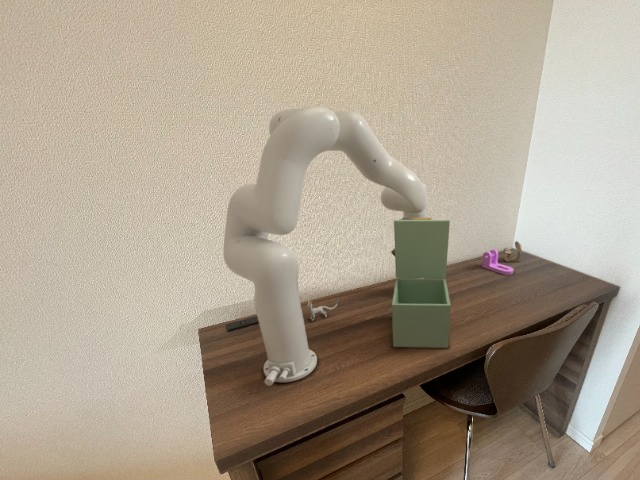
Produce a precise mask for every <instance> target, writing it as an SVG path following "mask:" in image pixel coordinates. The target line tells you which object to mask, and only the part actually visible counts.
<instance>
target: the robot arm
mask: <svg viewBox="0 0 640 480" xmlns="http://www.w3.org/2000/svg"><path fill="white" fill-rule="evenodd" d="M268 130H269V137H268V139H267V140H266V142H265V145H264V147H263V150H262V153H261V158H260V163H259V166H258V167H259V168H258V173H257V179H256V182H255V183H247V184H244V185H241V186H239V187H238V188H236V190H234V192H233V193H232V195H231V197H230V199H229V202H228V206H227V212H226V221H225V229H224V237H223V239H224V240H223V247H222V248H223V249H222V250H223V253H222V254H223V260H224V263H225V265H226V267H227V268H228V269H229V271H231V272H232V273H234V274H235V275H237V276H238V277H242V278H243V279H246V280H247V281H249V282H252V283H253V286H254V296H253V305H254V310H255V315H256V317H257V321H258V325H259V329H260V333H261V336H262V341H263V345H264V348H265V352H266V356H267V360H266V361H265V362H264V364H263V368H262V370H263V374H264V376H265V379H264V381H263V383H264V384H265V385H266V386H269V387H271V386H273V384H274V383H290V382H296V381H299V380H300V379H303V378H305V377H307V376H308V375H310V374H312V372H313V371H314V370H315V369H316V368H317V364H318V357H317V354H316V353H315V352H314V351H313V350H312V349H310V348H309V343H308V338H307V331H306V325H305V321H304V315H303V309H302V304H301V299H300V298H301V297H300V292H299V271H300V270H299V262H298V258H297V256H296V254H295V252H293V250H292V249H290V248H289V247H288V246H286V245H285V244H284V243H280V242H279V241H274V240H272V239H268V235H269V234H270V235H276V236H285V235H289V234H290V233H292V232H293V231H294V230H295V228H296V227H297V224H298V220H299V215H300V208H301V201H302V195H303V189H304V182H305V178H306V173H307V171H308V167H309V165H310V164H311V163H312V161H313V160H315V158H316V157H318V155H320V154H321V153H325V152H333V151H335V152H342V153H344V154H345V156H346V157H347V158H348V159H349V161H351V163H352V164H353V165H354V166H355V168H356V169H357V170H358V171H359V173H360V174H361V175H362V176H363V177H364V178H365V179H367V180H368V181H370V182H372V183H374V184H377V185H379V186H382V187H384V188H383V189H382V191H381V193H380V202H381V204H382V206H383V207H384V208H386V209H387V210H389V211H395V212H402V218H399V219H398V220H412V218H427V206H428V187H427V185H426V184H425V183H424V182H422V181H421V180H420V178H419V176H418V175H417V174H416V173H415V172H414V171H413V170H412V169H410V168H409V167H407V166H406V165H404V164H403V163H401V162H400V161H399V160H397V159H396V158H394V157H393V156H391V155H390V154H389V153H388V151H387V150H386V149H385V147H384V146H383V145H382V143H381V141H380V140H379V139H378V137H377V136H376V134H375V132H374V131H373V130H372V128H371V126H370V125H369V123H368V122H367V120H366V119H365V118H364V117H363V115H361V114H360V113H359V112H357V111H354V110H337V111H333V110H331V109H330V108H327V107H325V106H320V105H319V106H318V105H316V106H315V105H314V106H306V107H305V106H304V107H299V108H289V109H282V110H279V111H277V112H276V113H274V115H273V116H272V117H271V118H270V120H269V125H268ZM390 253H391V255H392V256H393V257H395V247H394V248H393V249H391V252H390Z"/></svg>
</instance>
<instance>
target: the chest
mask: <svg viewBox="0 0 640 480" xmlns="http://www.w3.org/2000/svg"><path fill="white" fill-rule="evenodd" d="M391 303H392V304H391V319H392V320H391V321H392V322H391V323H392V347H393V348H432V349H433V348H435V349H438V348H439V349H440V348H441V349H448V348H449V340H450V339H449V337H450V324H451V323H450V322H451V309H452V306H451V300H450V294H449V290H448V284H447V279H446V278H424V279H405V278H395V282H394V289H393V295H392V302H391Z"/></svg>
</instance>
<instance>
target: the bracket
mask: <svg viewBox="0 0 640 480" xmlns="http://www.w3.org/2000/svg"><path fill="white" fill-rule="evenodd" d="M481 267H482V268H483V269H487V270H490V271H492V272H495V273H499V274H502V275H504V276H505V275H507V276H510V275H513V274H514V271H515V269H514V268H513V267H511V266H508V265H505V264H502V263H499V251H498V249H491V250H490V251H488V250H487V251H485V252H483V253H482V260H481Z"/></svg>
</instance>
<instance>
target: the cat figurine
mask: <svg viewBox="0 0 640 480" xmlns="http://www.w3.org/2000/svg"><path fill="white" fill-rule="evenodd" d="M514 247H515V249H516V250H517V254H516V255H515V256H514V257H511V255H512V254H513V251H512V250H511V249H509V248H508V247H507V246H506V247H504V248H503V256H504V261H505V262H506V263H508V262H517V263H518V262H519V261H520V259H521V255H522V254H521V253H522V250H523V249H522V244H521V243H520V242H519V241H518V240H516V241H515V242H514Z"/></svg>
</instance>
